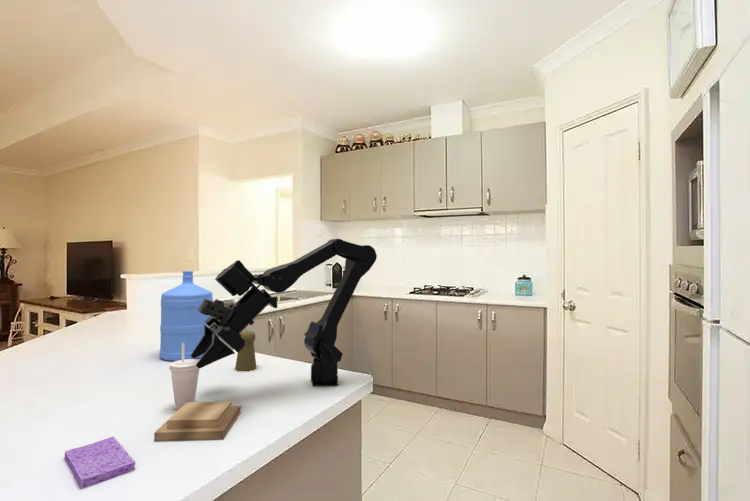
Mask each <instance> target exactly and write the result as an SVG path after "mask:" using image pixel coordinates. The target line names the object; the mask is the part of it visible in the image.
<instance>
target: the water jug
mask: <svg viewBox="0 0 750 501" xmlns="http://www.w3.org/2000/svg"><path fill="white" fill-rule="evenodd" d="M193 273H194V271H191V270H188V271H187V270H184V271H182V282H181V284H179V285H177V286H175V287H172V288H170V289H168V290H166V291H164V292H161V293H162V294H161V298H160V325H159V326H160V327H159V328H160V329H159V330H160V331H159V332H160V349H159V358H160V359H162V360H164V361H168V362H169V361H170V362H175V361H179V360H182V343H185V355H184V360H185V359H194V358H192V357H191V354H192V353H193V351H194V349H195V348H196V346H197V345H198V343H199V342H200V340H201V338H202V337H203V335H204V325H206V326H208V325H207V324H206V323H205V321H206V320H207V319H208V318H209V317H210V316H209V315H204V314H202V313H200V311H198V310H199V308H200V306H201V304H202V302H203V300H204V298H205V299H208V300H210V301H214V298H213V292H212V291H211V290H208V289H206V288H204V287H202V286H199V285H197V284H195V283H194V281H193V280H194V275H193ZM203 355H204V354H202V355H200V356H198V357H197V358H195V359H197V360H200V359H201V357H202V356H203Z"/></svg>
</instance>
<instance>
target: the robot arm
mask: <svg viewBox="0 0 750 501" xmlns="http://www.w3.org/2000/svg"><path fill="white" fill-rule="evenodd" d="M335 256H338V257H340V258H342V259H345V262H344V272H343V274H342V276H341V278H340V281H339V283H338V285H337V287H336V288H335V291H334V293H333V295H332V296H331V298H330V300H329V303H328V305H327V306H326V309H325V311H324V312H323V315H322V317H321V318H320V319H319V320H318V321H317V322H315V321H310V323H309V326H308V328H307V330H306V332H305V333H304V334H303V335H304V336H305V338H304V340H303V342H304V346H305V348H306V350H307V351H309V352H310V353H309V354H310V356H311V357H313V361H312V364H311V366H310V382H312V383H311V384H312V386H313V387H329V386H330V387H334V386H339V376H338V373H339V372H338V367H339V366H338V365H339V364H338V363H339V362H341V360H342V357H343V353H342V351H341V350H340V349H339V348H338V347H336V345H335V344H336V341H337V337H338V325H339V323H340V321H341V320H342V317H343V315H344V313H345V311H346V309H347V307H348V305H349V302H350V301H351V299H352V297H353V295H354V293H355V290H356V288H357V286H358V284H359V282H360V281H361V279H362V277H363V276H365V275H366V274H367V273H368V272H369V271H370V270H371V268H373V267H372V266H374V264H375V262H376V261H377V257H378V254H377V252H376V250H375V248H374V247H373V246H371V245H370V244H364V245H362V244H361V245H360V244H356V243H353V242H349V241H347V240H343V239H341V238H331V239H329V240H328V241H327V242H325V243H323V244H322V245H320V246H319V247H317V248H315V249H312V250H311V251H309V252H308V253H305V254H304V255H302V256H300V257H299V258H297V259H294V260H293V261H291V262H287V263H284V264H280V265H277V266H274V267H271V268H268V269H267V270H265V271H264V272H263V273H261V274H260V273H259V274H255V273H254V274H252V273H251V272H250V271H249V269H247V268H246V266H245V265H244V263H242V261H241V260H238V259H237V260H235V261H234V262H233V263H231V264H230V265H228V266H227V267H225V268H224V269H222V270H221V272H220V273H218V275H216V277H215V278H214V280H215V281H216V282H217V283H218V284H219V285H220V286H222V288H223V289H224V290H226V291H227V292H228V293H229V294H230V295H231V296H232V297H235V296H236V295H237V296H239V297H241V296H242V297H241V298H240V299H239V300H237V301H236V303H235V304H234V303H230V304H229V305H227V306H225V302H224V301H222V300H220V299H214V300H213V301H210V300H208V299H205V298H204V300H203V302H202V304H201V306H200V308H199V310H198V311H200V313H202V314H204V315H209V316H210V317H209V318H208V319H207V320H206V321H205V323H206V324H207V325H208V326H206V325H204V335H203V337H202V338H201V340H200V342H199V343H198V345H197V346H196V348H195V349H194V351H193V353H192V354H191V357H192V358H194V359H195V358H197V357H198V356H200V355H202V354H204V355H203V356H202V357H201V358H200V359H198V360H199V361H198V363H197V364H196V366H197V367H198V368H199V369H202V368H203V367H207V366H208V365H211V364H213V363H215V362H218V361H219V360H221V359H223V358H227V357H229V356H231V355H235V354H236V353H237V354H238V353H239V352H240V351H241V350H242V349H243V348H244V346H245V340H244V339H243V338H242V337H241V335H240V333H241V332H242V331H245V329H246V328H247V327H248V326H249V325H250V326H252V325H253V324H254V323H255V321H254V320H255V319H256V318H257V316H259V315H260V314H261V313H262V312H263V310H264V309H265V308H266V307H267V306H268V305H269V306H270V307H271V308H273V309H278V298H279V297H277V296H275V295H273V296H272V295H271V294H270V293H269V292H273V293H277V294H279V293H280V294H281V293H283V292H286V291H287V290H288V289H289V288H291V286H293V285H294V284H295V283H296V282H297V281H298V280H299V279H300V278H301V276H303V275H304V274H306V273H307V272H309V271H311V270H313V269H315V268H316V267H318V266H320V265H322V264H323V263H325V262H326V261H328V260H330V259H332V258H333V257H335ZM256 285H258V286H263V289H259V288H258V287H257V286H256ZM268 291H269V292H268Z"/></svg>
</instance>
